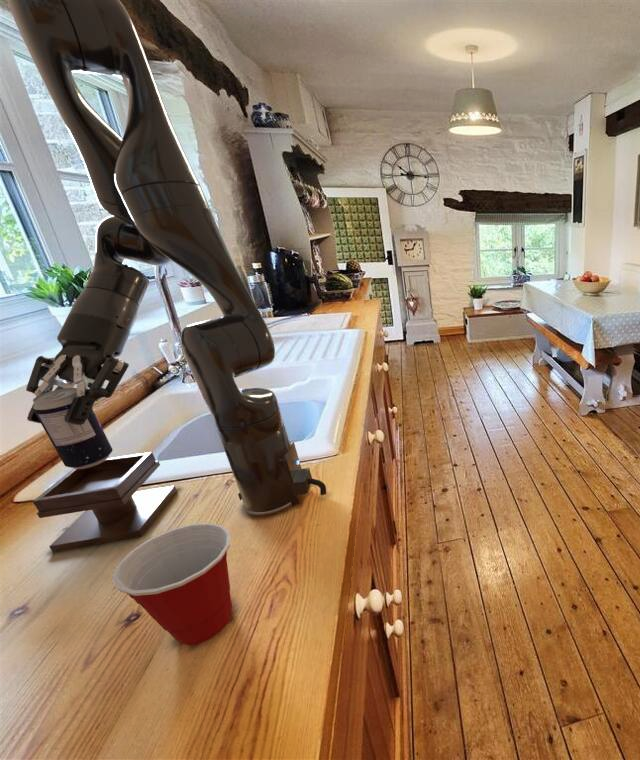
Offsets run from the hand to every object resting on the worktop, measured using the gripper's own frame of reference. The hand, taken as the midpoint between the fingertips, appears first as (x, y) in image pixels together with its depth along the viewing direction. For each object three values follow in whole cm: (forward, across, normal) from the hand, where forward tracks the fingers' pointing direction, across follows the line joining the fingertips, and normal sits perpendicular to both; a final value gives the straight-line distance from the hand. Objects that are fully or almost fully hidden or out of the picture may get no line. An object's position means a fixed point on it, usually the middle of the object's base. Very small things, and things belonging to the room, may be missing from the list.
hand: (55, 422), depth 61 cm
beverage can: (+5, 0, +7) cm, 9 cm away
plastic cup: (+25, +31, +3) cm, 39 cm away
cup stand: (+13, 0, +15) cm, 20 cm away
